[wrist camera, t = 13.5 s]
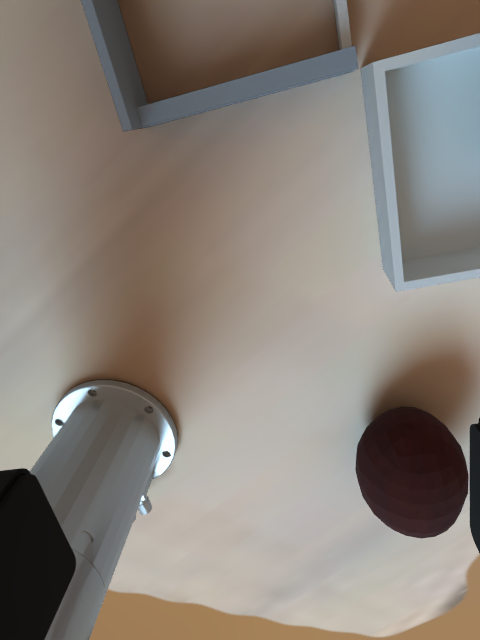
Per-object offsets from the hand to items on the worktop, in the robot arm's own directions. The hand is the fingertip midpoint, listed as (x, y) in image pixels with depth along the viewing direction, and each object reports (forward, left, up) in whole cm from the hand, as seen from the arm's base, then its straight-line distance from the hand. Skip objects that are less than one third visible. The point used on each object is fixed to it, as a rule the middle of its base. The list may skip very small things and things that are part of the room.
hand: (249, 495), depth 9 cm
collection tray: (+1, -14, -27) cm, 31 cm away
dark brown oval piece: (-23, -7, -27) cm, 36 cm away
